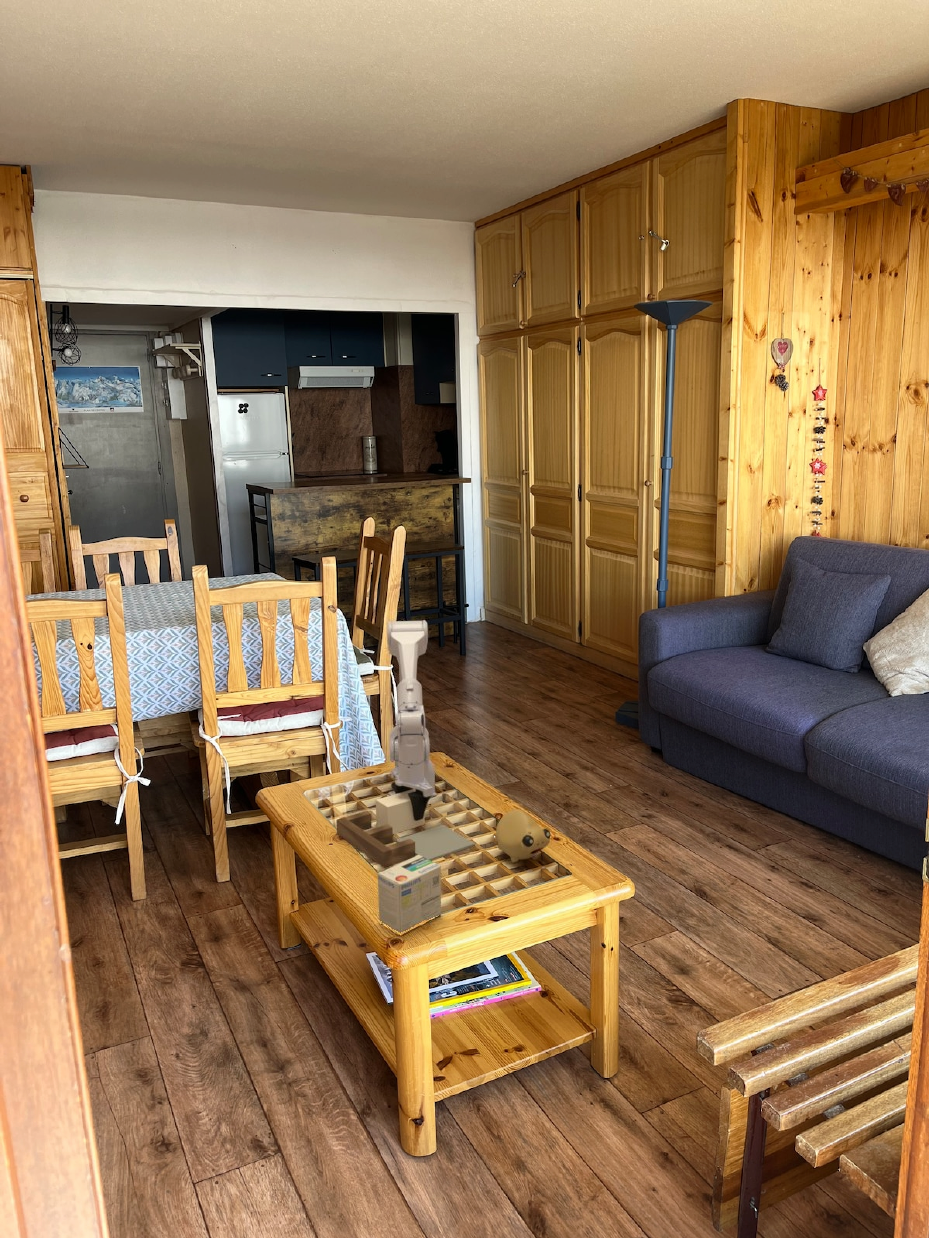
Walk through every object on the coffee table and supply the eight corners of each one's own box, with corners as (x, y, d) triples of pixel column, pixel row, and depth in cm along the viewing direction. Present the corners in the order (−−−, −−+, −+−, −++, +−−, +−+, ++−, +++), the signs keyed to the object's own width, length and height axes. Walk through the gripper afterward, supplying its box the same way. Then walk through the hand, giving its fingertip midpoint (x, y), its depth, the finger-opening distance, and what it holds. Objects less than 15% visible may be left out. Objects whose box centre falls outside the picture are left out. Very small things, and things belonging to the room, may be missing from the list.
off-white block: (412, 816, 226) (412, 789, 224) (424, 824, 222) (424, 796, 220) (376, 827, 220) (375, 799, 218) (388, 835, 216) (387, 807, 214)
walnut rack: (367, 824, 222) (366, 810, 221) (415, 856, 206) (415, 841, 205) (336, 833, 217) (336, 819, 216) (383, 867, 201) (383, 852, 201)
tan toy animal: (522, 876, 198) (523, 828, 195) (487, 854, 207) (487, 809, 205) (558, 862, 203) (559, 816, 201) (522, 842, 213) (522, 797, 210)
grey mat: (443, 826, 221) (443, 824, 220) (474, 845, 211) (474, 843, 211) (395, 841, 213) (395, 839, 213) (426, 862, 204) (426, 860, 203)
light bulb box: (419, 903, 187) (418, 852, 185) (442, 916, 183) (442, 864, 180) (377, 923, 180) (375, 871, 178) (400, 937, 175) (399, 884, 173)
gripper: (379, 754, 222) (380, 808, 225) (414, 774, 211) (415, 830, 214) (405, 748, 226) (405, 801, 230) (440, 766, 215) (440, 822, 218)
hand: (412, 815), depth 222 cm, fingers closed on off-white block, 5 cm apart
